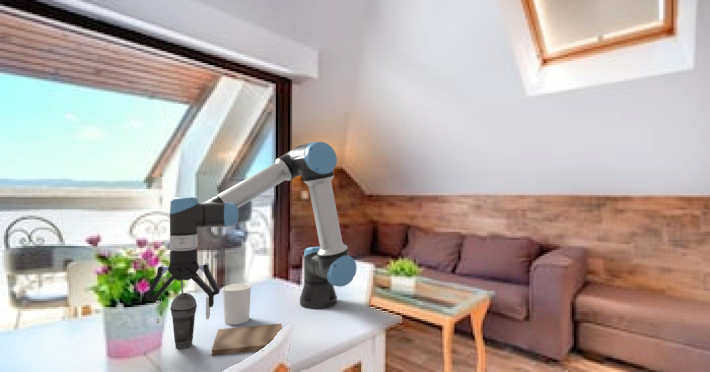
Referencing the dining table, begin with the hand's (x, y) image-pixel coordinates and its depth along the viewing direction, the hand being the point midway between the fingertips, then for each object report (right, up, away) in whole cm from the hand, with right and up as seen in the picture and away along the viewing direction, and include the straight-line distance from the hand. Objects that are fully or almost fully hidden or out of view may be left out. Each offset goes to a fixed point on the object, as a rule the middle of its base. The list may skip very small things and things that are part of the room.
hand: (183, 319), depth 110 cm
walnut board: (+19, -8, +4) cm, 21 cm away
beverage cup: (0, -8, 0) cm, 8 cm away
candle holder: (+9, -8, +21) cm, 24 cm away
